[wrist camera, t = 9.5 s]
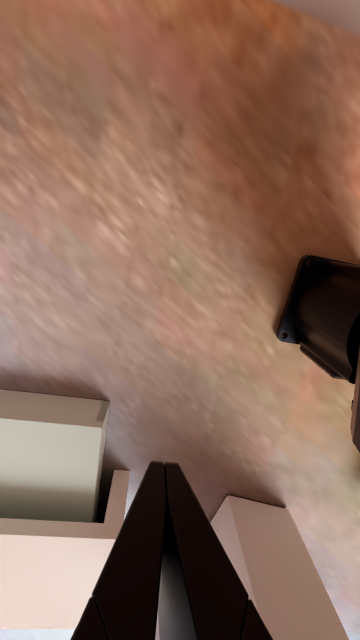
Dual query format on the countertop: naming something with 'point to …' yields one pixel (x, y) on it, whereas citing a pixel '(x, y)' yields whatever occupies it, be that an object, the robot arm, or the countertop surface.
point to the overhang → (55, 564)
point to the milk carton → (276, 570)
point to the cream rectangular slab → (51, 456)
